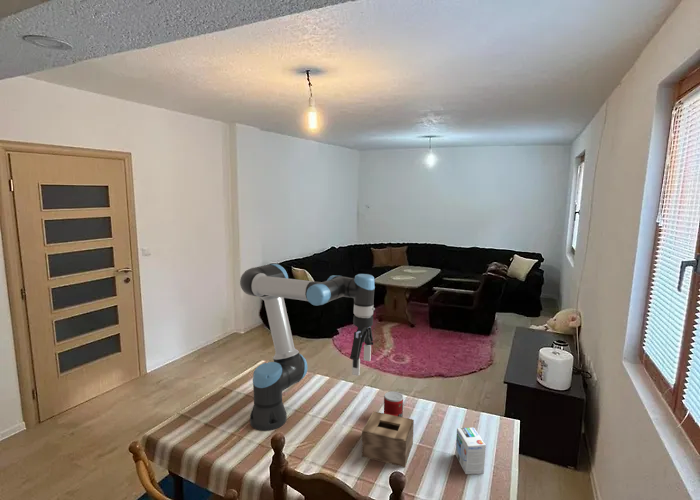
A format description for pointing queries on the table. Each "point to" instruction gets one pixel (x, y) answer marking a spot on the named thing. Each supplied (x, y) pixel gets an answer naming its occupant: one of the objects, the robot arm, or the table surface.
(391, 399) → the canned food
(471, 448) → the light bulb box
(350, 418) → the table surface
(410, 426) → the brown block with hole
